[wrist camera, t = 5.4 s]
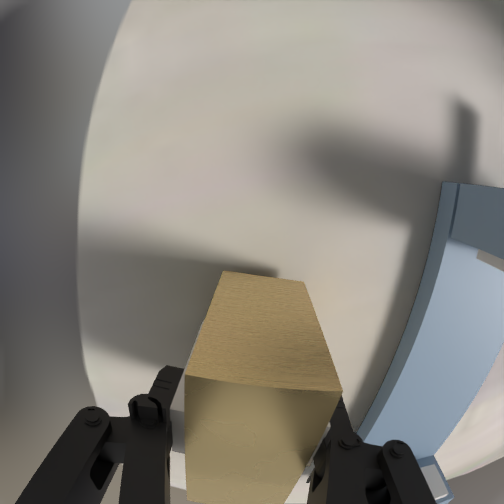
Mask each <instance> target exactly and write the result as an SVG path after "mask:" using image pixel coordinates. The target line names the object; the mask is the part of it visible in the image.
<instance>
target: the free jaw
mask: <svg viewBox="0 0 504 504" xmlns="http://www.w3.org/2000/svg"><path fill="white" fill-rule="evenodd" d="M451 238H453V239H455V240H458V241H460V242H463V243H465V244H468V245H470V246H473V247H475V248H477V249H478V253H477V257H476V259H478V260H480V261H482V262H485V263H487V264H489V265H491V266H493V267H495V268H497V269H499V270H501V271H503V272H504V188H497V187H489V186H482V185H473V184H464V183H460V191H459V197H458V203H457V209H456V215H455V220H454V225H453V230H452V235H451Z"/></svg>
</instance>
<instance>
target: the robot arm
mask: <svg viewBox="0 0 504 504" xmlns="http://www.w3.org/2000/svg"><path fill="white" fill-rule="evenodd" d="M203 323H204V321H203V322H202V324H201V327H200V329H199V332H198V335H197V337H196V340H195V342H194V345H193V348H192V350H191V353H190V356H189V358H188V361H187V364H186V366H185V369H182V368H177V367H172V366H168V365H167V366H165V367H164V368H163V369H161V370H160V371H159V373H158V375H157V377H156V380H155V381H154V383H153V386H152V387H151V389H150V391H149V394H140V395H137V396H135V397H133V398H132V399H130V401H129V403H128V407H129V413H130V416H129V417H109V415H108V413H107V412H106V411H105V410H103V409H101V408H99V407H95V406H92V407H86V408H83V409H81V410H80V411H79V412H78V413H77V414H76V416H75V417H74V419H73V420H72V421H71V423H70V424H69V425H68V427H67V428H66V430H65V431H64V432H63V434H62V435H61V437H60V438H59V439H58V441H57V442H56V444H55V445H54V446H53V448H52V449H51V451H50V452H49V454H48V455H47V457H46V458H45V459H44V461H43V462H42V464H41V465H40V467H39V468H38V469H37V471H36V472H35V474H34V475H33V477H32V478H31V480H30V481H29V483H28V485H27V486H26V488H25V489H24V490H23V492H22V494H21V495H20V497H19V498H18V500H17V501H16V503H15V504H100V503H101V501H102V498H103V496H104V494H105V492H106V490H107V488H108V486H109V484H110V482H111V480H112V478H113V476H114V474H115V472H116V470H117V467H118V465H119V463H124V464H123V471H122V479H121V487H120V497H119V504H170V451H171V447H172V451H175V452H179V453H184V454H185V433H184V381H185V372H186V369H187V366H188V364H189V361H190V358H191V355H192V353H193V350H194V347H195V344H196V342H197V339H198V336H199V334H200V331H201V328H202V325H203ZM313 459H314V465H315V468H314V469H313V471H312V473H311V474H310V476H309V478H308V479H307V482H306V483H309V482H310V487H309V494H308V500H307V504H437V503H436V501H435V499H434V497H433V494H432V492H431V490H430V488H429V486H428V483H427V481H426V479H425V477H424V475H423V473H422V471H421V469H420V467H419V464H418V462H417V460H416V458H415V456H414V454H413V452H412V450H411V448H410V447H409V446H408V444H406V443H405V442H403V441H400V440H390V441H387V442H386V443H385V444H384V445H383V446H378V445H372V444H368V443H365V442H363V440H362V439H361V437H360V436H359V435H357V434H356V433H354V432H353V430H352V427H351V424H350V420H349V417H348V414H347V411H346V409H345V404H344V402H343V398H342V395H341V397H340V399H339V401H338V404H337V406H336V408H335V410H334V413H333V415H332V417H331V419H330V421H329V423H328V425H327V427H326V429H325V431H324V433H323V435H322V437H321V439H320V441H319V443H318V445H317V447H316V449H315V451H314V453H313V455H312V457H311V458H310V460H309V462H308V464H307V466H310V465H311V463H312V461H313Z"/></svg>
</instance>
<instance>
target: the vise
mask: <svg viewBox="0 0 504 504" xmlns="http://www.w3.org/2000/svg"><path fill="white" fill-rule="evenodd" d="M459 191H460V184H459V183H454V182H442V189H441V195H440V201H439V207H438V213H437V218H436V223H435V228H434V232H433V237H432V241H431V246H430V250H429V254H428V258H427V262H426V265H425V269H424V273H423V276H422V280H421V283H420V287H419V290H418V293H417V296H416V299H415V302H414V305H413V308H412V311H411V314H410V317H409V320H408V323H407V326H406V328H405V331H404V334H403V336H402V339H401V341H400V344H399V346H398V349H397V351H396V354H395V356H394V359H393V361H392V363H391V366H390V368H389V370H388V372H387V375H386V377H385V379H384V381H383V383H382V385H381V387H380V389H379V392H378V394H377V396H376V398H375V400H374V402H373V404H372V406H371V407H370V409H369V411H368V413H367V415H366V417H365V419H364V421H363V422H362V424H361V426H360V428H359V430H358V431H357V433H356V434H357V435H359V436H360V437H361V439H362V440H363V442H365V443H368V444H372V445H378V446H383V445H384V444H385V443H386V442H387V441H390V440H400V441H403V442H405V443H406V444H408V446H409V447H410V448H411V450H412V452H413V454H414V456H415V458H416V460H417V462H418V464H419V467H420V469H421V471H422V473H423V475H424V477H425V479H426V481H427V483H428V486H429V488H430V490H431V492H432V494H433V497H434V499H435V501H436V503H437V504H447V503H448V502H449V501H451V500H452V499H453V498H454V495H453V493H452V491H451V489H450V487H449V485H448V483H447V481H446V479H445V477H444V475H443V473H442V471H441V469H440V467H439V465H438V463H437V461H436V459H435V457H434V454H435V453H436V452H437V450H438V449H439V448H440V447H441V445H442V444H443V443H444V442H445V440H446V439H447V438H448V436H449V435H450V434H451V432H452V431H453V429H454V428H455V427H456V425H457V424H458V422H459V421H460V419H461V418H462V416H463V415H464V413H465V412H466V410H467V409H468V407H469V406H470V404H471V403H472V401H473V399H474V398H475V396H476V394H477V393H478V391H479V389H480V388H481V386H482V384H483V382H484V380H485V379H486V377H487V375H488V373H489V371H490V369H491V367H492V365H493V363H494V362H495V359H496V357H497V355H498V353H499V351H500V349H501V347H502V345H503V343H504V272H503V271H501V270H499V269H497V268H495V267H493V266H491V265H489V264H487V263H485V262H482V261H480V260H478V259H476V257H477V253H478V249H477V248H475V247H473V246H470V245H468V244H465V243H463V242H460V241H458V240H455V239H453V238H451V235H452V230H453V225H454V220H455V215H456V209H457V203H458V197H459Z"/></svg>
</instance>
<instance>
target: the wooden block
mask: <svg viewBox="0 0 504 504" xmlns="http://www.w3.org/2000/svg"><path fill="white" fill-rule="evenodd" d="M342 392H343V390H342V387H341V384H340V381H339V378H338V375H337V372H336V369H335V366H334V363H333V361H332V358H331V355H330V352H329V349H328V346H327V344H326V341H325V338H324V335H323V332H322V330H321V327H320V324H319V321H318V319H317V316H316V313H315V311H314V308H313V305H312V302H311V300H310V297H309V294H308V292H307V289H306V287H305V284H304V282H301V281H294V280H287V279H279V278H272V277H265V276H258V275H251V274H244V273H237V272H231V271H224V270H223V272H222V275H221V278H220V280H219V283H218V285H217V288H216V291H215V293H214V296H213V299H212V301H211V304H210V307H209V309H208V312H207V315H206V317H205V320H204V323H203V325H202V328H201V331H200V334H199V336H198V339H197V342H196V344H195V347H194V350H193V353H192V355H191V358H190V361H189V364H188V366H187V369H186V372H185V381H184V433H185V468H186V488H187V500H188V501H193V502H199V503H205V504H284V502H285V501H286V499H287V498H288V496H289V494H290V493H291V491H292V490H293V488H294V486H295V485H296V483H297V481H298V480H299V478H300V476H301V474H302V473H303V471H304V469H305V467H306V466H307V464H308V462H309V460H310V458H311V457H312V455H313V453H314V451H315V449H316V447H317V445H318V443H319V441H320V439H321V437H322V435H323V433H324V431H325V429H326V427H327V425H328V423H329V421H330V419H331V417H332V415H333V413H334V410H335V408H336V406H337V404H338V401H339V399H340V397H341V395H342Z"/></svg>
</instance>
